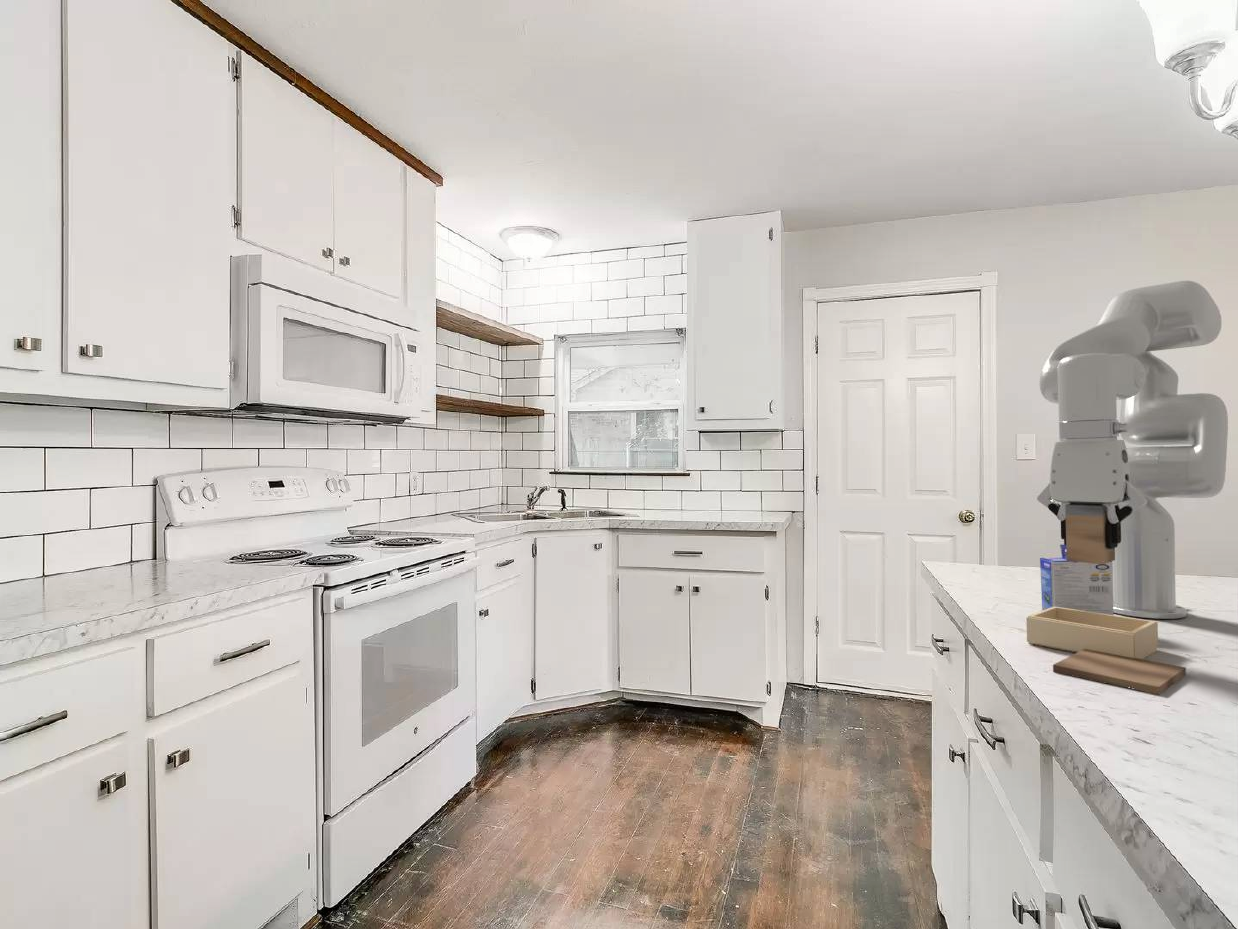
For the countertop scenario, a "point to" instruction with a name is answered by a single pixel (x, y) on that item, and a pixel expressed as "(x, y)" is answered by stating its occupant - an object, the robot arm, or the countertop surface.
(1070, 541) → the block
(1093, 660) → the board
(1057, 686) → the countertop surface
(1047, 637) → the wooden box
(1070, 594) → the ink cartridge box
